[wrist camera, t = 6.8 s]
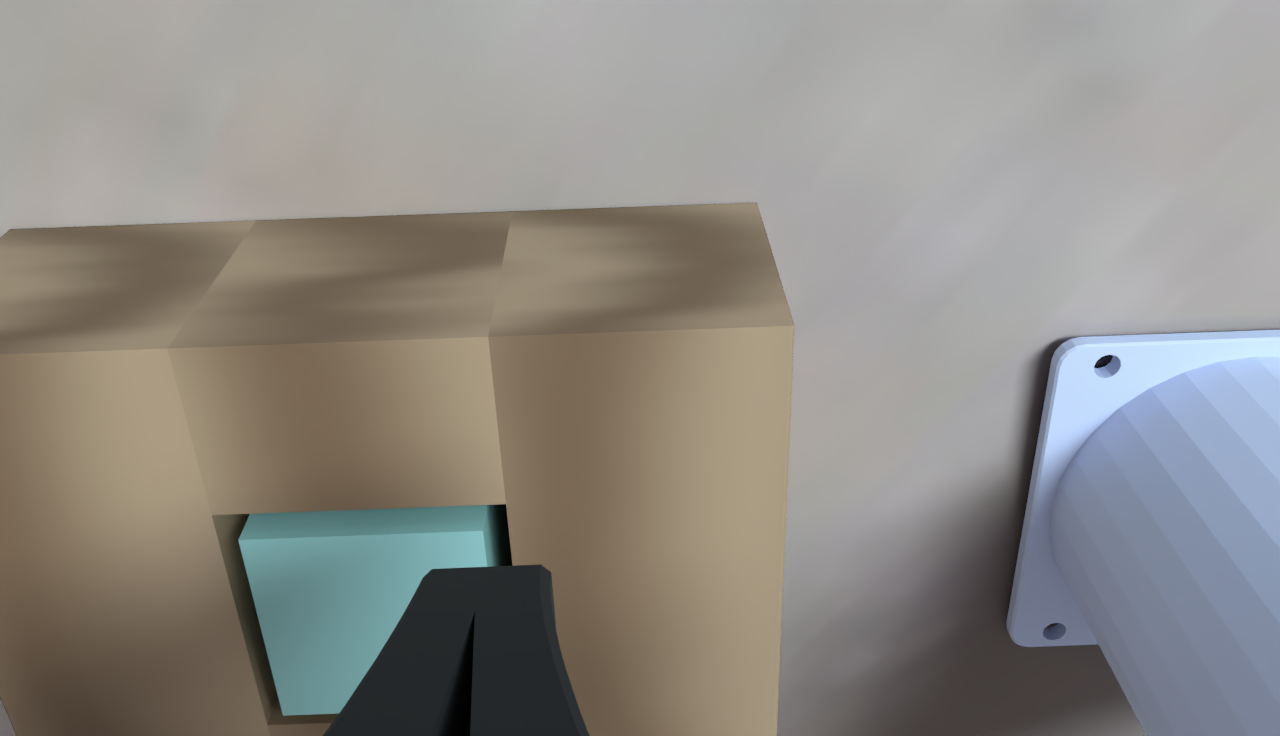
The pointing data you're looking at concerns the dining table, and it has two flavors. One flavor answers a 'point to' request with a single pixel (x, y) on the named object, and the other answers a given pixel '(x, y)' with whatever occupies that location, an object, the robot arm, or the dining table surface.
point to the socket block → (393, 447)
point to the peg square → (351, 586)
